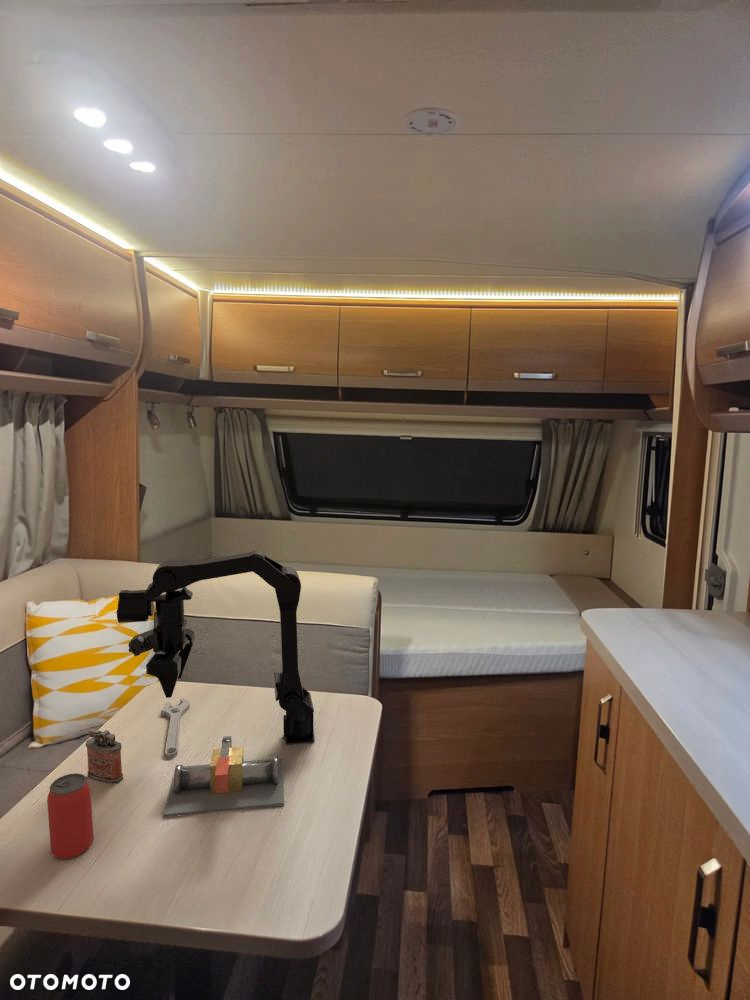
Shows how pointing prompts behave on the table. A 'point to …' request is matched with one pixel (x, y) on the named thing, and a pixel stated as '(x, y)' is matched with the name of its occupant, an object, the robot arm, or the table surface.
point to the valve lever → (223, 766)
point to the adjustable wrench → (174, 725)
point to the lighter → (104, 757)
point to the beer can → (70, 816)
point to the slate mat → (226, 797)
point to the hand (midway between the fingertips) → (173, 687)
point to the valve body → (238, 773)
